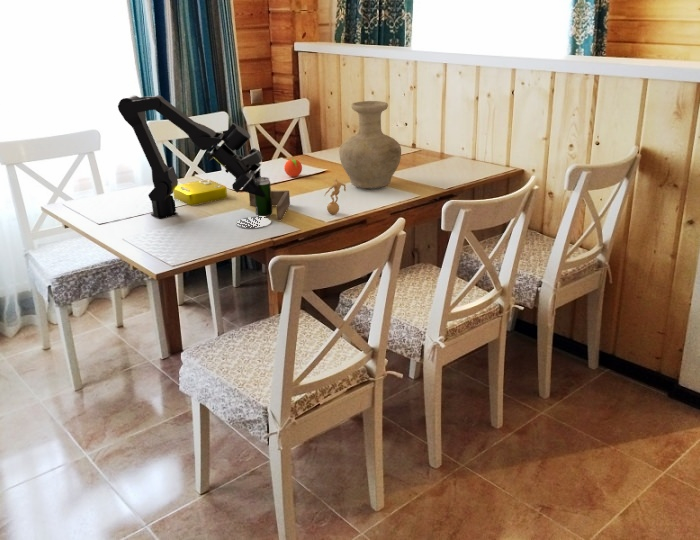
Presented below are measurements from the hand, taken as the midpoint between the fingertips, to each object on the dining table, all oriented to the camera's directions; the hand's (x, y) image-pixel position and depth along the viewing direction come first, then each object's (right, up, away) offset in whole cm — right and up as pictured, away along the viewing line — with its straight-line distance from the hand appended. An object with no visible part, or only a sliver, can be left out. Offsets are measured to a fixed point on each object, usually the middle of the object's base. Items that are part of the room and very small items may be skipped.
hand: (266, 193), depth 221 cm
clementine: (+5, +12, +47) cm, 49 cm away
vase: (+34, +6, +32) cm, 48 cm away
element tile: (-27, +1, +24) cm, 36 cm away
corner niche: (-1, -6, +5) cm, 8 cm away
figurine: (+22, -7, +2) cm, 23 cm away
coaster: (-4, -10, -4) cm, 11 cm away
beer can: (-1, -7, +3) cm, 7 cm away
